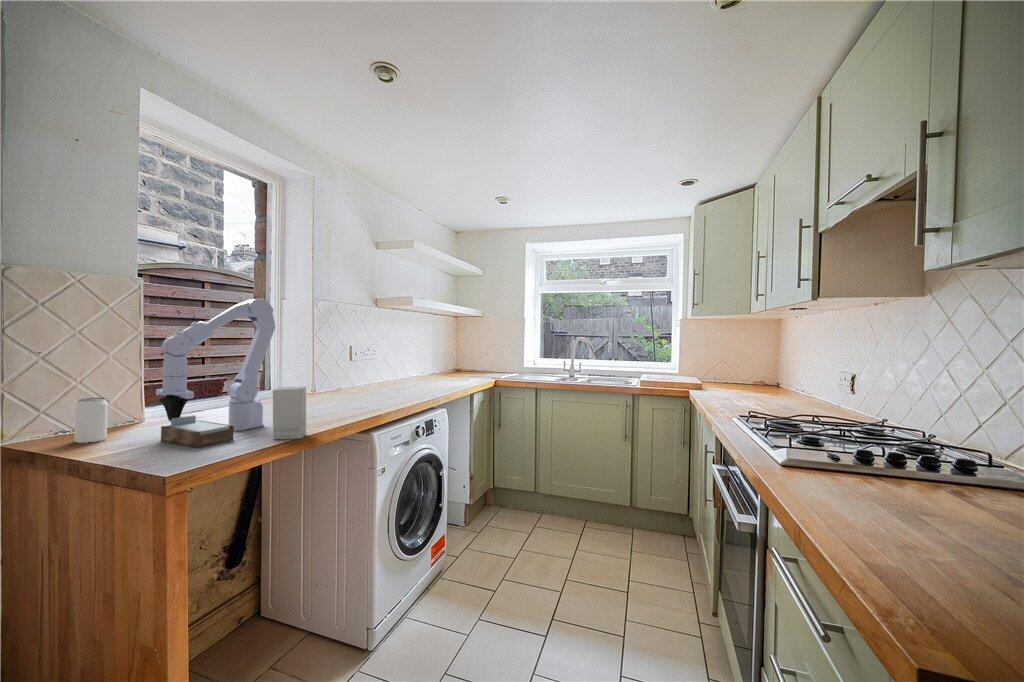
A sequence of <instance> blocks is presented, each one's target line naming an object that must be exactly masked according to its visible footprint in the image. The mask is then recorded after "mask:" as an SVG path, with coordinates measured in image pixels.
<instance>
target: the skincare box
mask: <svg viewBox="0 0 1024 682" xmlns="http://www.w3.org/2000/svg"><path fill="white" fill-rule="evenodd" d="M305 435H307V386H280V387H276V388H275V389H273V390H272V440H273V439H280V440H299V439H303V438H304V437H305Z"/></svg>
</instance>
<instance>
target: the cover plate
mask: <svg viewBox="0 0 1024 682" xmlns="http://www.w3.org/2000/svg"><path fill="white" fill-rule="evenodd" d="M196 417H197V415H185V416H180V417H178V418H172V419H171V421H170V424H169V425H165V426H166V427H172V428H178V429H185V430H191V431H197V432H200V435H203V434H208V433H213V432H218V431H224V430H229V428H230V426H226V425H227V424H226V425H220V424H221V423H220V424H213V423H214V422H213V423H206V422H207V421H206V422H199V421H200V420H199V421H197V420H196V419H197V418H196Z"/></svg>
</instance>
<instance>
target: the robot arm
mask: <svg viewBox="0 0 1024 682" xmlns="http://www.w3.org/2000/svg"><path fill="white" fill-rule="evenodd" d="M244 317H245V318H246V317H247V318H248V319H249V320H250V321H251V322H252V323H253V324H254V326H255V328H256V330H255V333H254V334H253V338H252V340H251V342H250V345H249V348H248V351H247V353H246V355H245V358H244V361H243V364H242V365H241V369H240V371H239V372H238V373H237V374H236V376H234V379H233V381H232V382H231V383H229V385H228V386H227V394H228V396H229V397H230V399H229V400H228V401H229V402H228V403H229V404H228V425H233V426H234V431H235V432H239V431H245V430H248V429H249V430H250V429H255V428H259V427H264V426H265V424H264V423H263V420H264V419H263V417H264V407H263V404H262V402H261V401H260V400H258V399H256V397H257V395H258V384H259V378H258V374H259V372H260V370H261V366H262V365H263V361H264V358H265V356H266V353H267V350H268V348H269V346H270V343H271V339H272V338H273V335H274V332H275V329H276V323H275V318H274V308H273V307H272V305H271V304H270V302H269V301H268V300H266V299H265V298H259V297H258V298H256V299H255V298H254V299H252V298H251V299H245V300H244V301H243V302H239V303H237V304H235V305H233V306H231V307H230V308H228V309H226V310H225V311H223V312H221V313H220V314H218V315H217V316H215V317H213V318H211V319H209V320H208V321H207V322H206V321H203V320H202V321H201V320H200V321H198V322H197V321H193V322H192V323H190V326H189V327H187V328H185V329H183V330H182V331H175V333H174V334H175V336H169V337H167V338H166V339H164V340H163V341H162V344H161V345H160V348H161V350H162V351H163V361H162V388H156V389H155V396H164V397H161V398H159V401H160V403H161V404H162V405H163V408H164V409H165V412H166V416H167V421H168V422H171V419H172V418H178V417H182V413H183V410H184V407H185V406H186V404H187V402H188V401H189V400H190V399H194V397H195V391H191V390H190V389H188V388H187V387H188V384H187V383H188V353H189V352H190V351H191V349H192V348H194V347H198V345H200V344H202V343H203V342H205V341H207V340H209V339H210V338H212V337H213V336H214V334H215V333H214V332H215V330H218V329H219V328H221V327H223V326H225V325H226V324H229V323H230V322H233V321H234V320H236V319H238V318H244Z"/></svg>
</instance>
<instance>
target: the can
mask: <svg viewBox="0 0 1024 682" xmlns="http://www.w3.org/2000/svg"><path fill="white" fill-rule="evenodd" d="M107 435H108V402H107V401H106V398H105V397H87V398H79V399H77V403H76V404H75V407H74V437H73V438H74V440H73V441H74V442H75V443H76V442H77V443H76V444H89V443H88V442H94V443H98V442H97V441H100V442H102V441H101V440H103V441H105V440H106V439H107ZM104 439H105V440H104Z"/></svg>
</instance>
